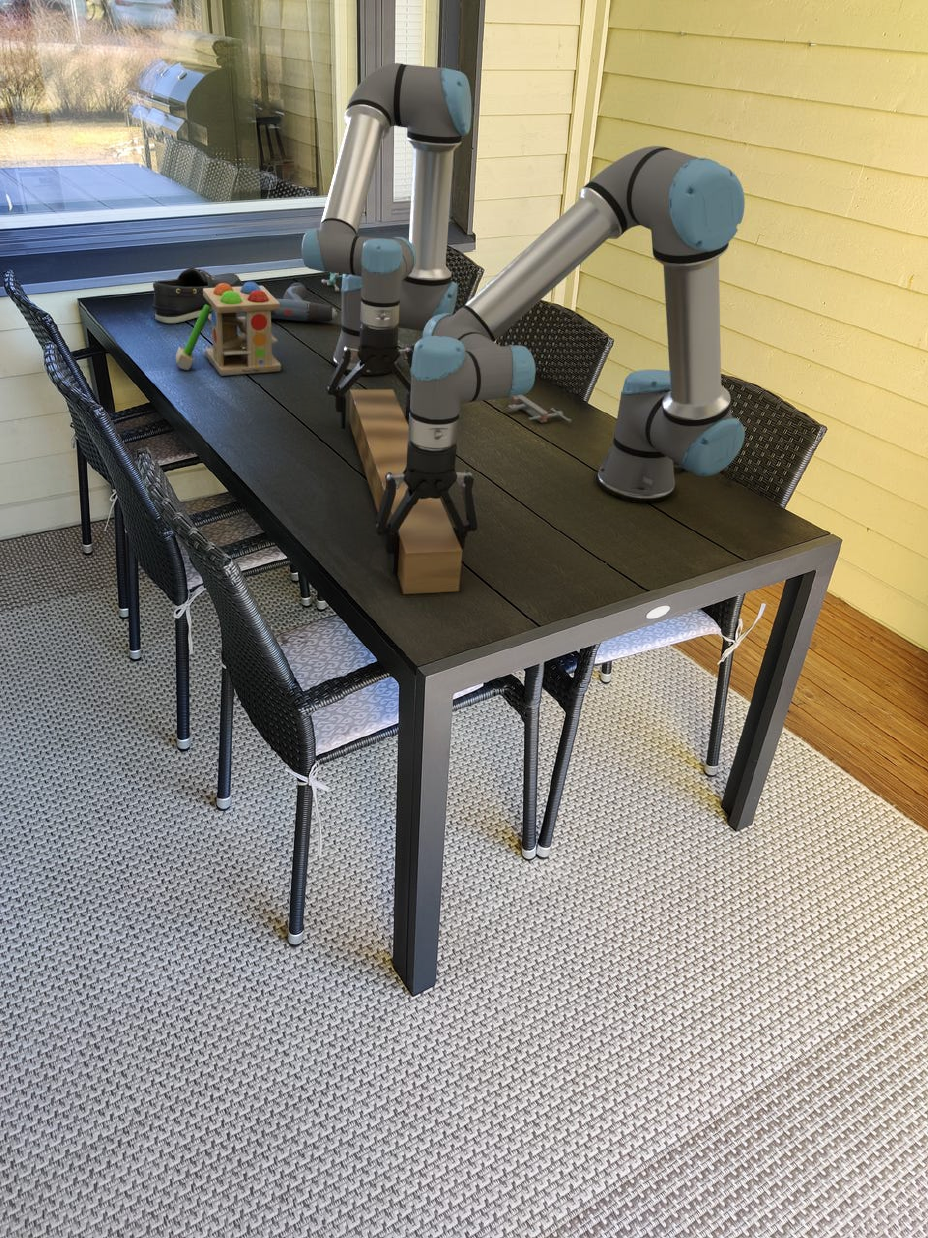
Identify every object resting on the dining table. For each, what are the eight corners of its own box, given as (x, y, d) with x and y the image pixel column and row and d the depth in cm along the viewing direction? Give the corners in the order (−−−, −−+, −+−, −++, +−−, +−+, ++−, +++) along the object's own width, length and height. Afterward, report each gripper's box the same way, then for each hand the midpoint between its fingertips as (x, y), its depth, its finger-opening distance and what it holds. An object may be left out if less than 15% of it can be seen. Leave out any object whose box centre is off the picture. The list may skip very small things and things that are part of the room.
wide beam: (349, 423, 209) (350, 389, 205) (391, 422, 211) (392, 389, 207) (403, 594, 155) (405, 553, 151) (458, 591, 158) (462, 550, 153)
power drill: (344, 304, 276) (335, 327, 259) (277, 298, 275) (264, 321, 258) (344, 285, 273) (335, 306, 256) (277, 279, 272) (264, 300, 255)
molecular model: (349, 283, 280) (337, 248, 279) (321, 295, 284) (310, 261, 283) (366, 286, 291) (354, 252, 289) (339, 298, 294) (328, 265, 293)
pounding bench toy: (183, 379, 220) (176, 299, 210) (169, 357, 231) (162, 280, 221) (282, 371, 230) (280, 294, 220) (264, 350, 240) (262, 276, 230)
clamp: (499, 396, 222) (536, 391, 226) (498, 406, 223) (534, 400, 228) (535, 422, 211) (573, 416, 216) (534, 432, 213) (571, 425, 217)
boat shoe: (261, 302, 273) (259, 263, 267) (172, 325, 249) (168, 283, 243) (227, 293, 278) (225, 255, 273) (137, 316, 254) (132, 274, 249)
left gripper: (317, 329, 185) (316, 433, 197) (445, 331, 191) (438, 432, 203) (313, 316, 191) (313, 419, 203) (438, 319, 197) (431, 418, 209)
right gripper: (364, 453, 144) (360, 583, 156) (507, 450, 149) (492, 576, 161) (357, 432, 150) (354, 558, 162) (495, 430, 155) (481, 553, 167)
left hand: (375, 426), depth 203 cm, fingers open, 13 cm apart
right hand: (423, 567), depth 162 cm, fingers closed on wide beam, 9 cm apart
